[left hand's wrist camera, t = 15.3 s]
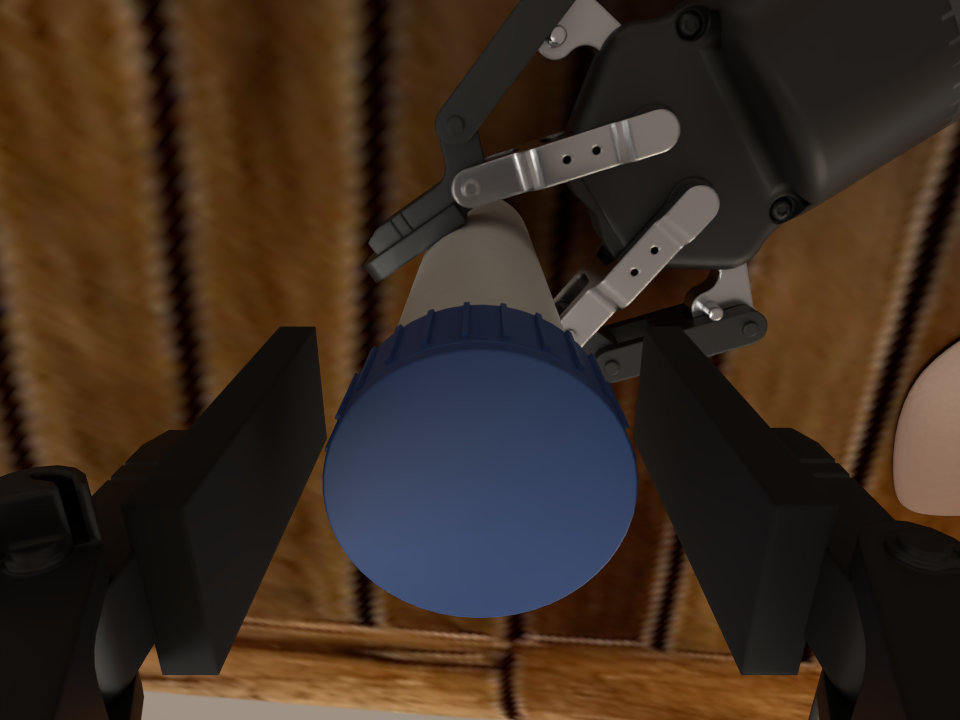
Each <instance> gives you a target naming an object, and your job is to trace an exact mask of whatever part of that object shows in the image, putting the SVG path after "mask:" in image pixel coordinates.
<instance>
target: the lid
mask: <svg viewBox="0 0 960 720" xmlns="http://www.w3.org/2000/svg"><path fill="white" fill-rule="evenodd" d="M335 419H337V420H338V421H337V423H336V425H335V427H334V429H333V432H332V434H331V436H330V438H329V441H328V443H327V445H326V448H325V452H327V453H326V457H325V463H324V470H323V496H324V502H325V508H326V512H327V515H328V518H329V522H330V525H331V528H332V530H333V532H334V534H335V536H336V538H337V540H338V542H339V544H340V545H341V547H342V548H343V550H344V551H345V553H346V554H347V556H348V557H349V558H350V559H351V561H352V562H353V563H354V564H355V565H356V566H357V567H358V568H359V570H360V571H361V572H362V573H364V574H365V575H366V576H367V577H368V578H369V579H370V580H372V581H373V582H374V583H375V584H377V585H378V586H380V587H381V588H382V589H384V590H385V591H387V592H388V593H390V594H392V595H394V596H396V597H398V598H399V599H401V600H403V601H405V602H408V603H410V604H413V605H415V606H418V607H420V608H423V609H426V610H430V611H434V612H437V613H441V614H447V615H453V616H459V617H474V618H484V617H500V616H507V615H515V614H519V613H523V612H527V611H531V610H534V609H537V608H540V607H543V606H545V605H548V604H551V603H553V602H555V601H557V600H559V599H561V598H563V597H565V596H567V595H569V594H570V593H572V592H573V591H575V590H576V589H578V588H580V587H581V586H583V585H584V584H585V583H586V582H587V581H589V580H590V579H591V578H592V577H594V576H595V575H596V574H597V573H598V572H599V571H600V570H601V569H602V568H603V567H604V566H605V565H606V563H607V562H608V561H609V560H610V559H611V557H612V556H613V554H614V553H615V552H616V550H617V549H618V548H619V546H620V544H621V542H622V540H623V538H624V537H625V535H626V533H627V531H628V528H629V525H630V522H631V520H632V517H633V514H634V509H635V504H636V500H637V487H638V477H637V467H636V455H635V453H634V451H633V449H632V445H631V443H630V440H629V438H628V436H627V433H626V431H625V429H626V428H629V425H628V422H627V420H626V418H625V416H624V414H623V411H622V409H621V407H620V405H619V403H618V401H617V398H616V396H615V394H614V392H613V390H612V388H611V385H610V383H609V381H607V382H606V380H605V378H604V376H603V374H602V371H601V369H600V367H599V365H598V363H597V360H596V358H595V356H594V355H593V354H592V353H591V354H589V355H588V354H587V353H586V352H585V351H584V349H583V348H582V347H581V346H580V345H579V344H578V343H577V342H576V341H575V340H574V338H573V335H572V333H571V332H570V331H569V330H566V331H565V332H564V331H562V330H561V329H560V328H558V327H557V326H555V325H554V324H552V323H550V322H548V321H546V320H544V319H543V318H542V315H541V314H540V313H537V312H536V313H535V315H533V314H530V313H527V312H524V311H521V310H518V309H513V308H509V307H507V304H505V303H500V306H496V305H483V304H482V305H470V302H464V304H463V306H457V307H452V308H446V309H443V310H439V311H436V312H435V311H434V309H431V310H428V313H427V315H425V316H423V317H420V318H418V319H416V320H414V321H412V322H410V323H409V324H407V325H405V326H404V327H403V326H402V325H401V324H400V325H399V326H397V327H396V329H395V332H394V334H393V335H391V336H390V337H389V338H388V339H387V340H385V341H384V342H383V343H382V344H381V345H380V347H379V348H376V347H375V346H374V347H373V348H372V349H371V351H370V353H369V355H368V358H367V360H366V362H365V364H364V367H363V369H362V371H361V374H360V375H359V374H357V373H355V375H354V377H353V379H352V382H351V384H350V386H349V388H348V390H347V392H346V395H345V397H344V399H343V401H342V403H341V405H340V408H339V410H338V412H337V414H336V416H335Z"/></svg>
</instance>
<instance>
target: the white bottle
mask: <svg viewBox="0 0 960 720" xmlns="http://www.w3.org/2000/svg"><path fill="white" fill-rule="evenodd" d="M464 302H470V305H482V304H483V305H496V306H500V303H505V304H507V307H509V308H513V309H518V310H521V311H524V312H527V313H530V314H533V315H535V313H536V312H537V313H540V314H541V315H542V318H543V319H544V320H546V321H548V322H550V323H552V324H554V325H555V326H557V327H558V328H560V329H561V330H562V331H564V328H563V325H562V323H561V320H560V317H559V315H558V312H557V309H556V307H555V304H554V301H553V298H552V296H551V293H550V290H549V288H548V285H547V282H546V280H545V277H544V274H543V271H542V269H541V266H540V263H539V261H538V258H537V255H536V253H535V250H534V247H533V244H532V242H531V239H530V236H529V234H528V231H527V228H526V226H525V223H524V221H523V219H522V218H521V216H520V215H519V213H518V212H517V211H516V210H515V209H514V208H513V207H512V206H511V205H509V204H508V203H506V202H505V201H503V200H499V201H496V202H493V203H489V204H486V205H483V206H480V207H477V208H473V209H472V210H470V211H469V212H468V214H467V222H466V223H464V224H463V225H461V226H460V227H458V228H457V229H456V230H454V231H453V232H451V233H450V234H448V235H447V236H445V237H443V238H442V239H441V240H439V241H438V242H437V243H435V244H434V245H432V246H431V247H429V248H428V249H426V251H425V254H424V256H423V259H422V262H421V265H420V267H419V270H418V273H417V275H416V278H415V281H414V283H413V286H412V289H411V291H410V294H409V297H408V300H407V302H406V305H405V308H404V310H403V313H402V316H401V318H400V321H399V324H398V326H399V325H400V324H401V325H402V326H403V327H404V326H405V325H407V324H409V323H410V322H412V321H414V320H416V319H418V318H420V317H423V316H425V315H427V313H428V310H431V309H434V311H435V312H436V311H439V310H443V309H446V308H452V307H457V306H463V304H464ZM564 332H565V331H564Z"/></svg>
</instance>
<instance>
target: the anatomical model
mask: <svg viewBox="0 0 960 720" xmlns="http://www.w3.org/2000/svg"><path fill="white" fill-rule="evenodd" d="M893 479H894V487H895V492H896V495H897V497H898V499H899V501H900V502H901V504H902V505H903V506H905V507H906V508H908V509H910V510H912V511H914V512H918V513H922V514H929V515H944V516H960V341H959V342H957V343H956V344H954V345H953V346H951V347H950V348H948V349H947V350H946V351H945V352H943V353H942V354H941V355H940V356H939V357H937V358H936V359H935V360H934V361H933V362H932V363H931V364H929V366H928V367H927V368H926V369H925V370H924V371H923V372H922V373H921V375H920V376H919V377H918V378H917V380H916V381H915V383H914V385H913V386H912V388H911V389H910V391H909V393H908V395H907V398H906V400H905V402H904V405H903V408H902V411H901V414H900V417H899V421H898V425H897V430H896V435H895V444H894V453H893Z"/></svg>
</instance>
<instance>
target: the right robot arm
mask: <svg viewBox="0 0 960 720" xmlns="http://www.w3.org/2000/svg"><path fill="white" fill-rule="evenodd" d="M576 48H587V49H589V50H591V51H593V52H594V56H593V58H592V61H591V64H590V66H589V69H588V71H587V74H586V76H585V79H584V82H583V84H582V87H581V89H580V92H579V94H578V97H577V100H576V102H575V105H574V107H573V110H572V113H571V115H570V118H569V120H568V123H567V125H566V128H565V130H562V131H559V132H556V133H553V134H550V135H547V136H544V137H541V138H537V139H534V140H531V141H528V142H525V143H522V144H520V145H517V146H515V147H513V148H510V149H507V150H504V151H501V152H498V153H495V154H492V155H489V156H485V157H484V154H483V150H482V146H481V142H480V138H479V133H478V128H479V127H480V126H481V124H482V123H483V122H484V120H485V119H486V118H487V116H488V115H489V114H490V112H491V111H492V110H493V109H494V107H495V106H496V105H497V103H498V102H499V101H500V99H501V98H502V97H503V95H504V94H505V93H506V91H507V90H508V89H509V87H510V86H511V85H512V84H513V82H514V81H515V80H516V78H517V77H518V76H519V74H520V73H521V72H522V70H523V69H524V68H525V66H526V65H527V64H528V62H529V61H530V60H531V59H532V57H533V56H534V55H535V53H536V54H537V55H538V56H539V57H541V58H542V59H544V60H546V61H551V62H553V61H558V60H560V59H562V58H564V57H565V56H567V55H568V54H569V53H570V52H571V51H572V50H573V49H576ZM958 119H960V0H684V1H682V2H681V3H680V4H678V5H677V6H675V7H674V8H673V9H671V10H670V11H668V12H666V13H665V14H663V15H662V16H659V17H656V18H651V19H643V20H633V21H630V22H627V23H624V24H622V25H621V24H620V23H619V22H618V21H617V20H615V19H614V18H613V17H612V16H611V15H610V14H609V13H608V12H607V11H606V10H605V9H604V8H603V7H602V6H601V5H600V4H599V3H598V2H597V1H596V0H520V2H519V3H518V4H517V6H516V7H515V9H514V10H513V11H512V13H511V14H510V15H509V17H508V18H507V19H506V21H505V22H504V24H503V25H502V26H501V28H500V29H499V30H498V32H497V33H496V34H495V36H494V37H493V39H492V40H491V41H490V43H489V44H488V45H487V47H486V48H485V49H484V51H483V52H482V54H481V55H480V56H479V58H478V59H477V60H476V62H475V63H474V65H473V66H472V67H471V69H470V70H469V71H468V73H467V74H466V75H465V77H464V78H463V80H462V81H461V82H460V84H459V85H458V86H457V88H456V89H455V90H454V92H453V93H452V95H451V96H450V97H449V99H448V100H447V101H446V103H445V104H444V106H443V107H442V108H441V110H440V111H439V112H438V114H437V116H436V120H435V130H436V133H437V135H438V137H439V140H440V144H441V148H442V152H443V156H444V160H445V174H444V177H443V178H442V180H441V181H440V182H438V183H437V184H436V185H434V186H433V187H432V188H430V189H429V190H427V191H426V192H425V193H423V194H422V195H420V196H419V197H417V198H416V199H415V200H413V201H412V202H410V203H409V204H408V205H406V206H405V207H403V208H402V209H401V210H399V211H398V212H396V213H395V214H394V215H392V216H391V217H389V218H388V219H386V220H385V221H384V222H382V224H381V225H380V226H379V227H378V229H377V230H376V232H375V233H374V235H373V236H372V238H371V240H370V241H369V243H368V244H369V245H370V246H371V248H372V249H373V250H374V253H373V254H372V255H371V256H370V257H369V258H368V260H367V261H366V263H365V264H364V267H365V268H366V270H367V271H368V272H369V274H370V275H371V276H372V278H373V279H374V280H375V282H379V281H381V280H382V279H384V278H386V277H387V276H388V275H390V274H391V273H393V272H394V271H396V270H397V269H399V268H400V267H402V266H403V265H405V264H406V263H407V262H409V261H410V260H412V259H413V258H415V257H416V256H418V255H419V254H421V253H422V252H423V251H425V250H426V249H428V248H429V247H431V246H432V245H434V244H435V243H437V242H438V241H439V240H441V239H442V238H443V237H445V236H447V235H448V234H450V233H451V232H453V231H454V230H456V229H457V228H458V227H460V226H461V225H463V224H464V223H466V222H467V214H468V212H469V211H470V210H472V209H473V208H477V207H480V206H483V205H486V204H489V203H493V202H496V201H499V200H502V199H505V198H508V197H512V196H515V195H518V194H521V193H524V192H528V191H536V190H541V189H545V188H548V187H551V186H554V185H558V184H561V183H564V182H565V183H566V185H567V186H568V188H569V190H570V191H571V192H572V193H573V194H574V195H575V196H576V197H577V198H579V199H580V200H581V201H582V202H583V203H584V204H585V205H586V206H587V209H588V212H589V216H590V219H591V223H592V226H593V229H594V231H595V232H596V234H597V236H598V237H599V239H600V242H599V243H598V244H597V245H596V246H595V247H594V249H593V250H592V251H591V252H590V253H589V254H588V255H587V257H586V258H585V259H584V260H583V262H582V264H581V266H580V269H579V270H578V272H577V273H576V274H575V276H574V277H573V278H572V279H571V280H570V281H569V282H568V284H567V285H566V286H565V287H564V288H563V289H562V290H561V291H560V293H559V294H558V295H557V296H556V297H555V298H554V299H553V301H554V304H555V307H556V309H557V312H558V315H559V317H560V320H561V323H562V325H563V328H564V331H566V330H569V331H570V332H571V333H572V335H573V338H574V340H575V341H576V342H577V343H578V344H579V345H580V346H581V347H582V348H583V349H584V351H585V352H586V353H587V354H588V355H589V354H591V353H592V354H593V355H594V356H595V358H596V360H597V363H598V365H599V367H600V369H601V371H602V374H603V376H604V378H605V380H606V382H607V381H609V383H614V382H618V381H622V380H625V379H629V378H633V377H636V376H640V367H641V358H642V348H643V338H644V328H645V327H681V329H682V330H683V331H684V332H685V333H686V334H687V335H688V336H689V337H690V339H691V340H692V341H693V342H694V343H695V344H696V345H697V346H698V348H699V349H700V350H701V351H702V352H703V353H704V354H705V355H706V356H707V357H708V356H712V355H715V354H719V353H723V352H726V351H730V350H734V349H737V348H741V347H744V346H748V345H752V344H754V343H756V342H758V341H760V340H761V339H762V338H763V337H764V335H765V333H766V331H767V321H766V318H765V317H764V316H763V315H762V314H761V313H759V312H758V311H757V310H756V309H755V308H754V306H753V302H752V296H751V290H750V283H749V277H748V270H747V264H746V263H747V262H748V261H749V260H751V259H752V258H753V257H754V256H755V255H756V253H757V252H758V251H759V249H760V248H761V246H762V244H763V243H764V242H765V240H766V239H767V238H768V237H769V235H770V234H771V233H772V232H773V231H774V230H775V229H776V228H778V227H779V226H780V225H782V224H783V223H785V222H787V221H789V220H791V219H793V218H795V217H797V216H799V215H801V214H803V213H805V212H807V211H809V210H811V209H812V208H814V207H816V206H817V205H819V204H821V203H822V202H824V201H826V200H827V199H829V198H831V197H832V196H834V195H835V194H837V193H839V192H840V191H842V190H844V189H845V188H847V187H849V186H850V185H852V184H854V183H855V182H857V181H858V180H860V179H862V178H863V177H865V176H867V175H868V174H870V173H872V172H873V171H875V170H876V169H878V168H880V167H881V166H883V165H885V164H886V163H888V162H890V161H891V160H893V159H895V158H896V157H898V156H899V155H901V154H903V153H904V152H906V151H908V150H909V149H911V148H913V147H914V146H916V145H918V144H919V143H921V142H923V141H924V140H926V139H927V138H929V137H931V136H932V135H934V134H936V133H937V132H939V131H940V130H942V129H944V128H945V127H947V126H949V125H950V124H952V123H954V122H955V121H957V120H958ZM663 268H676V269H709V270H710V273H709V275H708V277H707V278H706V280H705V281H703V282H702V283H701V284H699V285H697V286H694V287H693V288H691V289H690V290H689V291H688V292H687V294H686V296H685V299H684V303H682V304H679V305H676V306H672V307H669V308H665V309H662V310H658V311H655V312H651V313H648V314H644V315H641V316H637V317H634V318H630V319H627V320H623V321H620V322H616V323H613V324H610V325H606V326H603V327H601V326H602V325H603V324H604V323H605V322H606V321H607V320H608V319H609V318H610V316H611V315H612V314H613V313H614V312H616V311H617V310H621V309H623V308H625V307H626V306H628V305H629V304H630V303H631V302H632V301H633V300H634V299H635V298H636V296H637V295H638V294H639V293H640V292H641V291H642V290H643V289H644V288H645V287H646V286H647V285H648V284H649V282H650V281H651V280H652V279H653V278H654V277H655V276H656V275H657V274H658V273H659V272H660V271H661V270H662V269H663ZM632 269H635V270H634V271H633V272H631V270H632Z"/></svg>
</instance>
